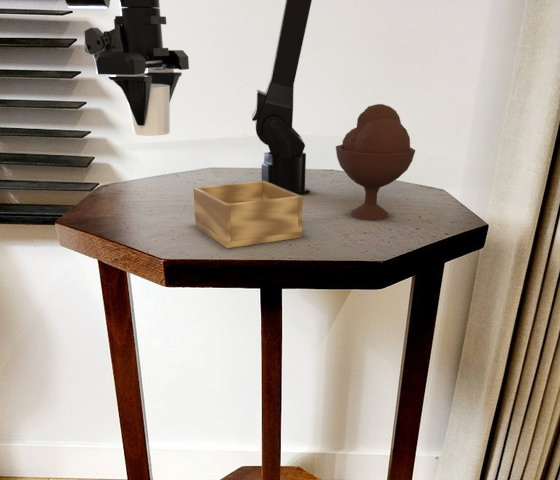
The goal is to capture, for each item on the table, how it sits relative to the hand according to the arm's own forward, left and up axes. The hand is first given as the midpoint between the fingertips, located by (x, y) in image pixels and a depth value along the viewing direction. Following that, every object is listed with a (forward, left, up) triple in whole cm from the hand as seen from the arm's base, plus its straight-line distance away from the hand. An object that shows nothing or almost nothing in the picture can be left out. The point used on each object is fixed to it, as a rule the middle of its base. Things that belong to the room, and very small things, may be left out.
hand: (151, 122), depth 96 cm
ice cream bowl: (-23, +28, -11) cm, 38 cm away
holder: (-3, +28, -11) cm, 30 cm away
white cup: (0, 0, -2) cm, 2 cm away
